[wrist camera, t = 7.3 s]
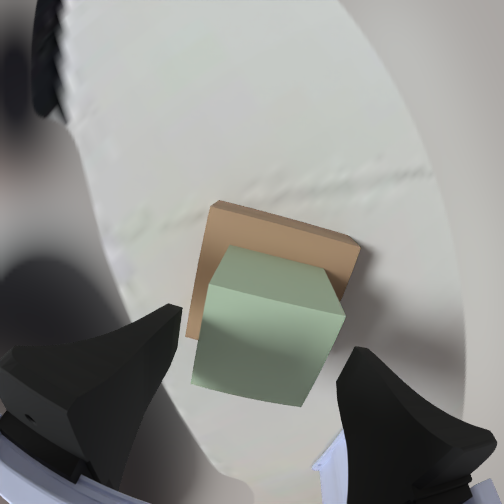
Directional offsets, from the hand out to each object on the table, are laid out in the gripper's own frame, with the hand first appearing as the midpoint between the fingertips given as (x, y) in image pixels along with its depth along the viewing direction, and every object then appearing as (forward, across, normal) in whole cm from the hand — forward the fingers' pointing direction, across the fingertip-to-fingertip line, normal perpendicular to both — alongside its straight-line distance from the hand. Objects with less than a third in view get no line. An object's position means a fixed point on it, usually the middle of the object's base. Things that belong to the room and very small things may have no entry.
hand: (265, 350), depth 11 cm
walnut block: (+8, 0, 0) cm, 8 cm away
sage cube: (+5, 0, 0) cm, 5 cm away
